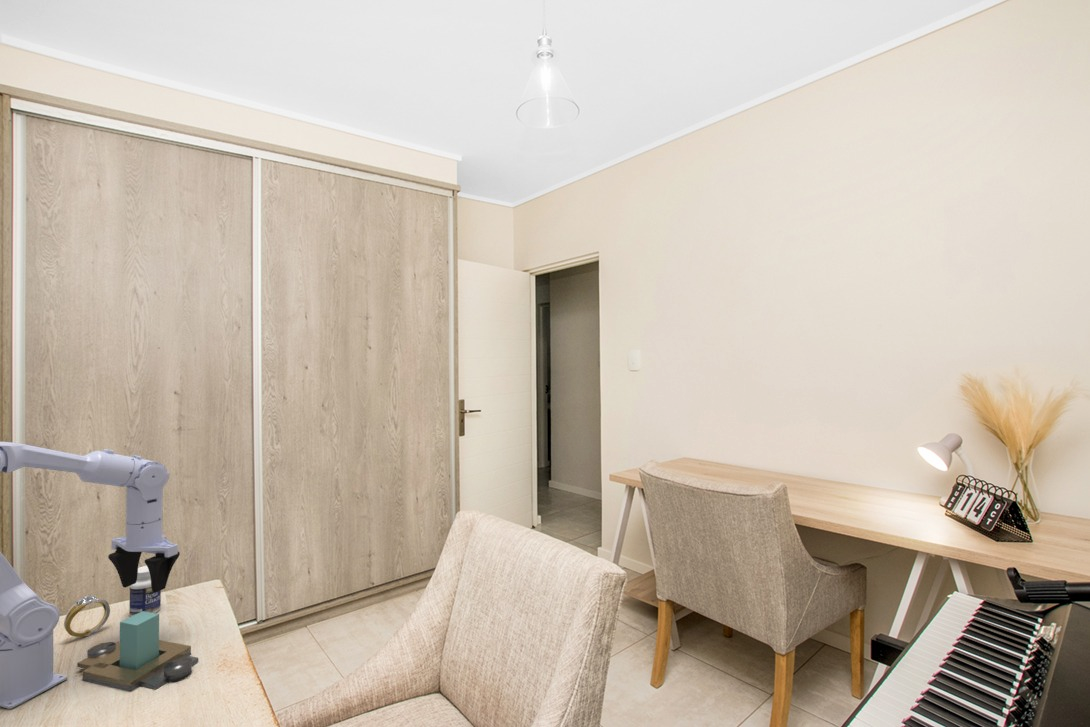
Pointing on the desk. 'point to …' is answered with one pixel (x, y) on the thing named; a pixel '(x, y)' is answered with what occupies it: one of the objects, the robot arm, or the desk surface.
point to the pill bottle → (143, 594)
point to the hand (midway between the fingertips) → (144, 587)
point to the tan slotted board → (105, 668)
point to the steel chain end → (158, 674)
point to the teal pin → (139, 640)
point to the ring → (73, 611)
